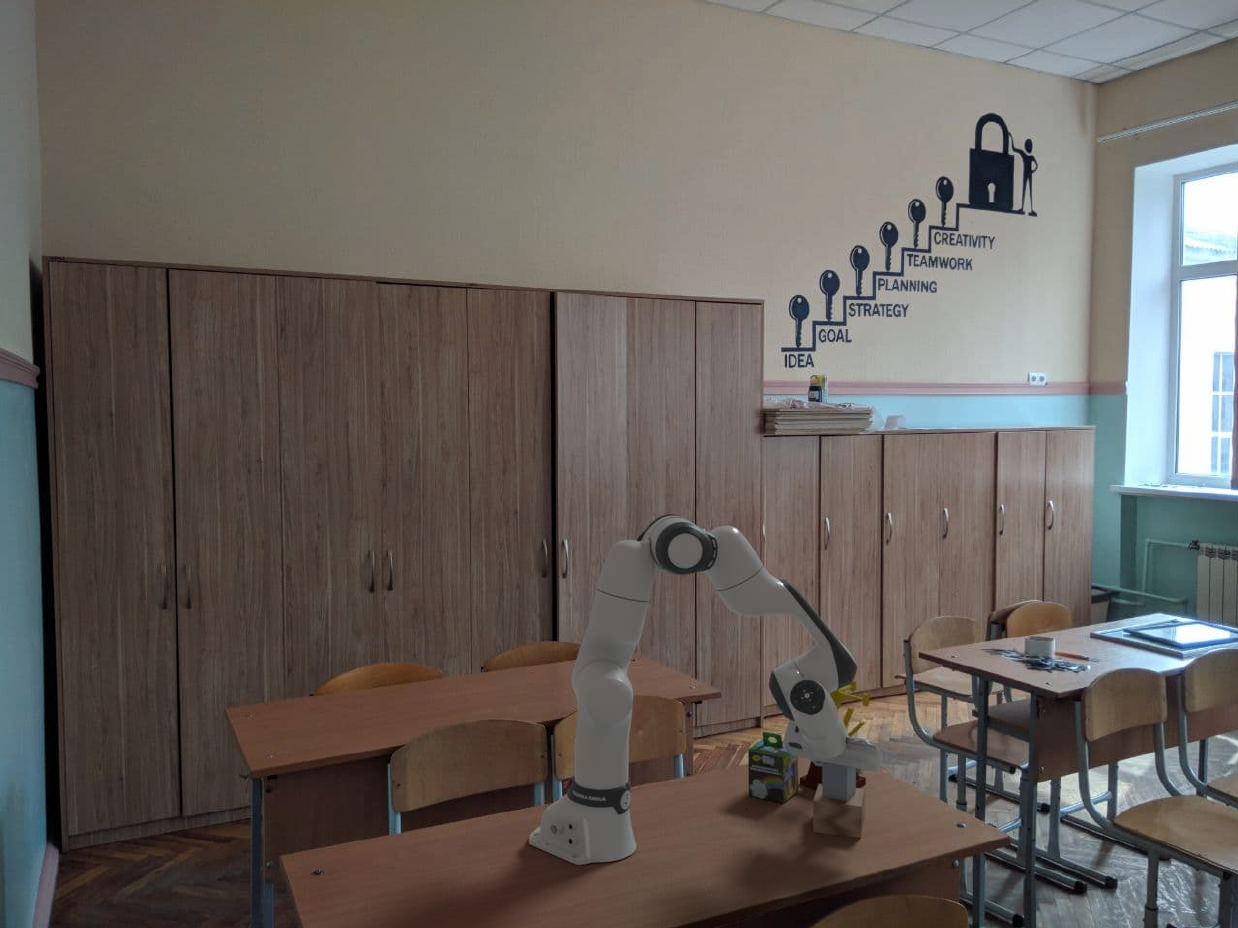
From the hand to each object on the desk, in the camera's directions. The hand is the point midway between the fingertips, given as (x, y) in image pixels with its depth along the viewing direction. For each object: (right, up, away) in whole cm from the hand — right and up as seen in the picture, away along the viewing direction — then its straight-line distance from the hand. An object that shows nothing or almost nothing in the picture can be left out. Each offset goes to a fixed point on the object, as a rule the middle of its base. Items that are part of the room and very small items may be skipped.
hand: (840, 767), depth 212 cm
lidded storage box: (0, -6, 0) cm, 6 cm away
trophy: (+3, -12, +24) cm, 27 cm away
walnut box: (0, -13, 0) cm, 13 cm away
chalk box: (-12, -12, +18) cm, 24 cm away
